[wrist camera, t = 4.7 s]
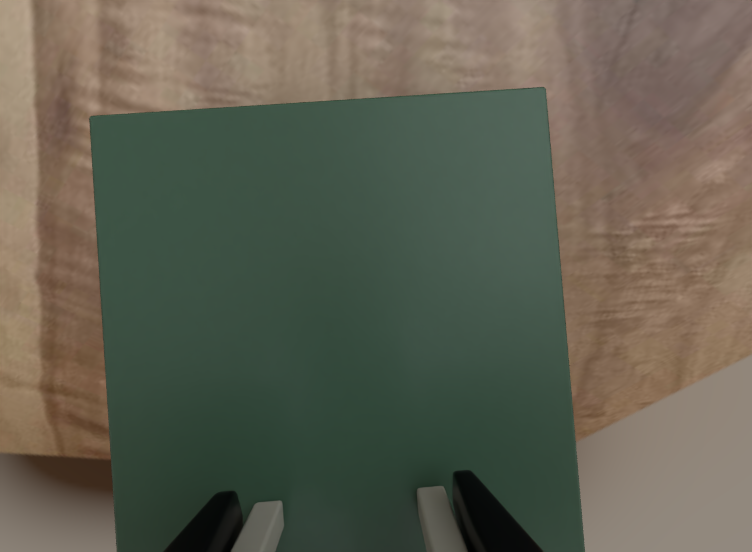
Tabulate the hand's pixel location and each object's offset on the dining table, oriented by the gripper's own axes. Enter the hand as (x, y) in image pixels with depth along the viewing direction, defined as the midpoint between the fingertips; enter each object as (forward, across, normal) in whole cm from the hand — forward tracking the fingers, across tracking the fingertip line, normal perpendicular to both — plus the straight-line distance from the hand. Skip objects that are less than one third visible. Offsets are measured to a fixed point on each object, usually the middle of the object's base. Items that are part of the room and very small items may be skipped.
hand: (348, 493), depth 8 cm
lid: (+3, 0, -3) cm, 4 cm away
